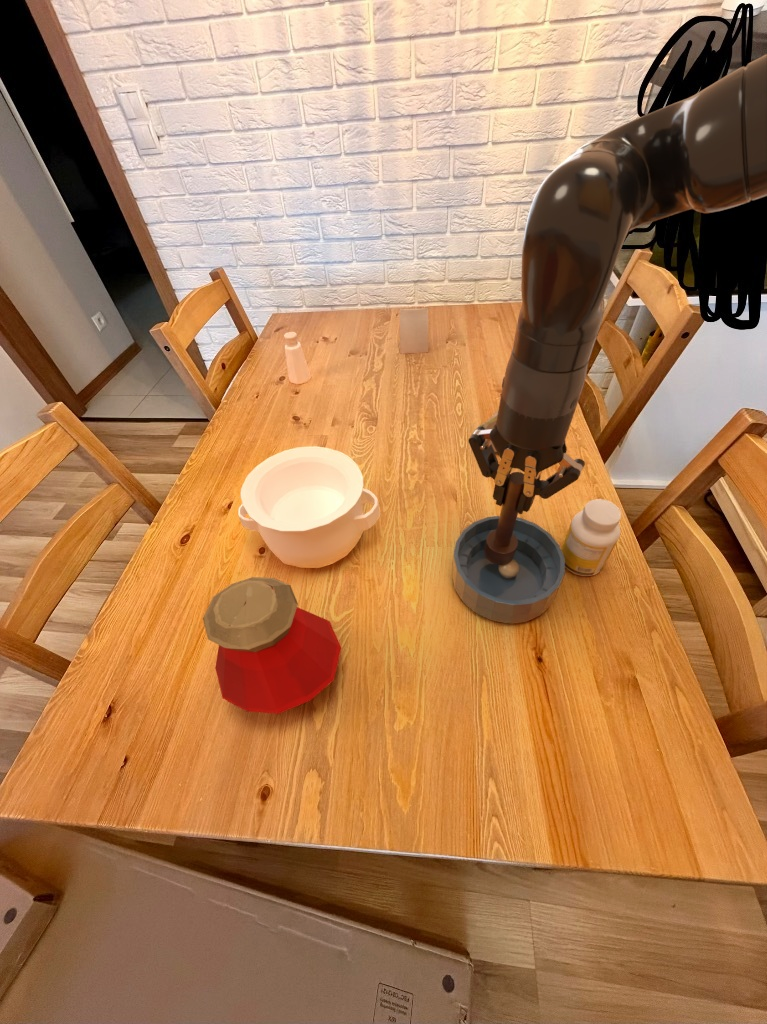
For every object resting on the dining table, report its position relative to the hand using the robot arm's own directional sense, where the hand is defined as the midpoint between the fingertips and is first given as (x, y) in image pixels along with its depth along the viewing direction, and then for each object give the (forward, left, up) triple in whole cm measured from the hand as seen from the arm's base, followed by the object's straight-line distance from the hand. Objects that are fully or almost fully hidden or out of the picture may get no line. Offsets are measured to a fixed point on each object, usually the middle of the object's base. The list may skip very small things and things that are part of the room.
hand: (511, 504), depth 60 cm
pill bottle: (-11, -7, -15) cm, 20 cm away
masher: (0, 0, -11) cm, 11 cm away
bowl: (-2, +2, -15) cm, 15 cm away
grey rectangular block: (+42, -50, -15) cm, 68 cm away
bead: (-2, +1, -12) cm, 13 cm away
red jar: (+17, +30, -15) cm, 37 cm away
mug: (+11, -28, -15) cm, 34 cm away
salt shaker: (+60, -27, -15) cm, 68 cm away
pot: (+28, +9, -15) cm, 33 cm away
